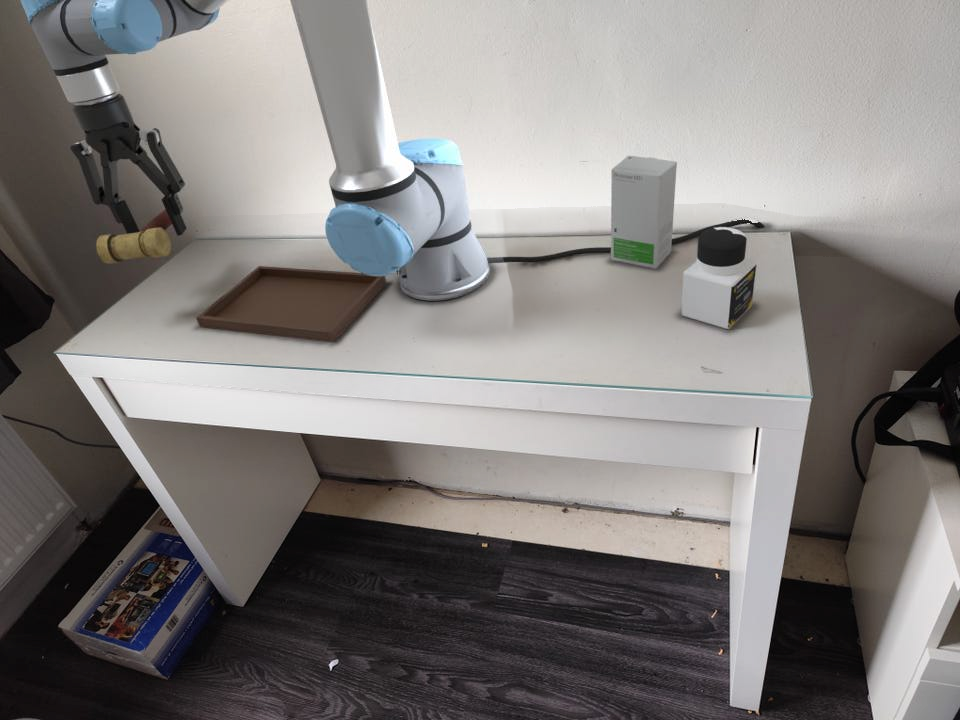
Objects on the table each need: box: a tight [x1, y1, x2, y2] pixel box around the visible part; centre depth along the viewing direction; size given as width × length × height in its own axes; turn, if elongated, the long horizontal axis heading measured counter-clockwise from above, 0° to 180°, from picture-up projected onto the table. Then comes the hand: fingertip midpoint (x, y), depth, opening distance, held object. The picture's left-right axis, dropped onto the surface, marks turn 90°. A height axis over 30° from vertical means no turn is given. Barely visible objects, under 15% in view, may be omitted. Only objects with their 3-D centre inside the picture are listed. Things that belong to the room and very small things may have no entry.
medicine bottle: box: [681, 227, 757, 330], centre depth 91 cm, size 7×7×12 cm
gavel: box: [95, 208, 173, 265], centre depth 114 cm, size 21×5×10 cm
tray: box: [195, 265, 388, 343], centre depth 113 cm, size 27×18×2 cm, turn 69°
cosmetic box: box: [610, 155, 678, 270], centre depth 105 cm, size 8×7×16 cm
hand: (159, 235), depth 115 cm, fingers closed on gavel, 7 cm apart
